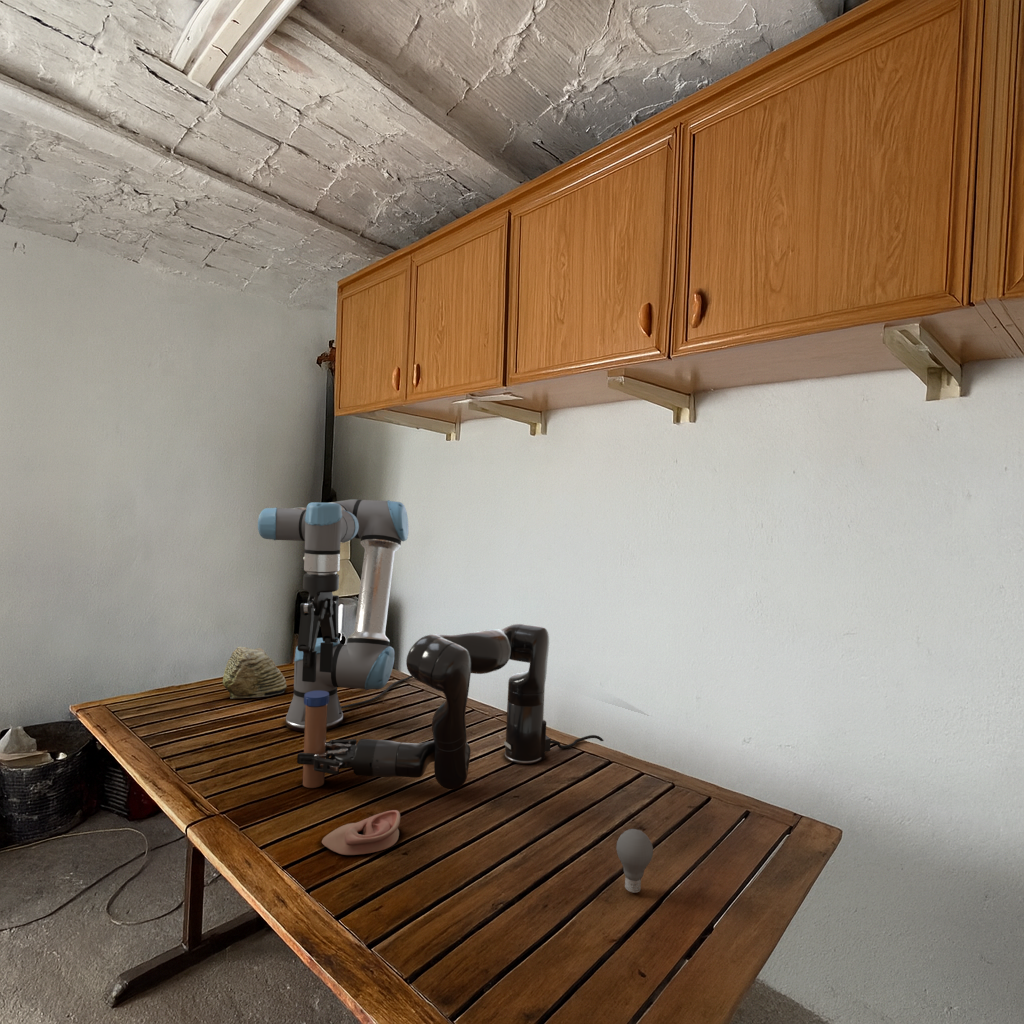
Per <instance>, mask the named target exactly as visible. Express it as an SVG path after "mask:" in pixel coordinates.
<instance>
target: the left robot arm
mask: <svg viewBox="0 0 1024 1024" xmlns="http://www.w3.org/2000/svg"><path fill="white" fill-rule="evenodd" d="M257 518H258V519H257V531H258V534H259V536H260V537H261V538H263V539H265V540H272V541H292V542H293V541H296V542H304V556H303V558H302V560H303V561H304V562H303V571H304V572H306V573H304V574H303V577H302V580H303V581H302V589H303V590H304V592H308V598H307V602H305V603H304V602H301V603H300V605H299V609H300V618H299V629H298V636H297V637H298V638H297V645H296V647H295V655H294V659H293V661H294V670H293V671H294V672H293V695H292V696H293V697H292V699H291V702H290V704H289V708H288V711H287V713H286V715H285V726H286V728H287V729H289V730H291V731H294V732H295V731H296V732H301V733H304V732H305V704H304V695H305V693H307V692H310V691H327V692H329V696H330V697H329V703H328V704H327V728H326V731H329V730H332V729H335V728H337V727H339V726H340V725H342V723H343V722H344V713H343V709H347V708H352V707H356V706H360V705H363V704H367V703H371V702H373V701H375V700H377V699H379V698H381V697H382V696H383V695H385V694H386V693H387V692H389V690H390V689H391V688H392V687H394V686H396V685H398V684H400V683H402V682H405V681H408V680H410V679H412V678H414V677H413V676H412V675H411V674H410V676H407V677H405V678H401V679H399V680H397V681H394V682H393V683H391V684H390V685H388V687H386V689H385V690H383V691H382V692H381V693H379V694H378V695H376V696H374V697H372V698H369V699H366V700H363V701H359V702H354V703H350V704H349V703H348V704H345V705H341V702H340V699H339V695H338V688H340V689H341V688H342V689H343V688H344V689H359V690H366V691H370V690H382V689H383V688H384V687H385V686H386V685H387V684H388V682H389V680H390V677H391V675H392V672H393V668H394V663H395V648H394V647H392V646H390V639H389V638H388V637H387V635H386V629H387V621H388V613H389V612H388V611H389V604H390V595H391V588H392V587H391V586H392V579H393V578H392V577H393V570H394V561H395V553H396V552H397V551H398V550H400V549H401V547H402V545H401V544H402V542H406V541H407V540H408V538H409V537H408V536H409V518H408V512H407V508H406V506H405V504H404V503H403V502H400V501H396V500H395V501H394V500H390V499H388V500H380V499H379V500H377V499H359V498H357V499H356V498H355V499H353V498H351V499H345V500H338V501H331V502H330V501H329V502H320V501H319V502H315V501H314V502H312V501H311V502H309V503H308V504H307V505H306V506H304V507H292V508H291V507H287V508H285V507H283V508H282V507H265V508H263V509H262V510H261V512H260V513H259V515H258V517H257ZM353 539H359V540H360V545H361V546H362V547H363V548H364V553H363V560H362V561H363V562H362V569H361V570H362V571H361V576H360V585H359V591H358V592H359V593H358V600H357V607H356V614H355V622H354V628H353V629H354V631H353V632H352V633H351V634H350V635H349V636H348V637H347V641H346V644H344V643H343V644H342V643H341V641H340V639H339V602H340V597H339V595H335V594H333V593H334V592H337V591H339V588H340V574H339V573H338V572H340V570H341V569H340V568H341V544H344V543H347V542H349V541H351V540H353ZM319 630H320V631H321V636H322V637H318V636H319Z"/></svg>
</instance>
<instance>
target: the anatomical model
mask: <svg viewBox="0 0 1024 1024" xmlns="http://www.w3.org/2000/svg"><path fill="white" fill-rule="evenodd" d="M400 823H401V813H400V811H399V810H397V809H392V810H391V809H390V810H387V811H383V812H380V813H377V814H373V815H371V816H369V817H367V818H365V819H362V820H360V821H356V822H349V823H346V824H344V825H341V826H339V827H337V828H335V829H334V830H332V831H331V832H329V833H328V834H326V835H325V836H324V837H323V838H322V840H321V844H322V845H323V846H324V847H325V848H327V849H328V850H330V851H332V852H334V853H337V854H339V855H342V856H356V855H357V856H358V855H366V854H371V853H378V852H382V851H383V850H386V849H388V848H390V847H392V846H394V845H395V844H396V843H397V842H398V840H399V836H400V830H399V827H400Z"/></svg>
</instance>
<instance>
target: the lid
mask: <svg viewBox="0 0 1024 1024" xmlns="http://www.w3.org/2000/svg"><path fill="white" fill-rule="evenodd" d="M329 697H330V696H329V692H327V691H310V692H307V693H305V695H304V704H305V705H307V706H312V707H318V706H324V705H326V704H328V703H329Z"/></svg>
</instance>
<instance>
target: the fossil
mask: <svg viewBox="0 0 1024 1024" xmlns="http://www.w3.org/2000/svg"><path fill="white" fill-rule="evenodd" d="M222 676H223V677H222V685H223V687H224V688H225V690H226V691H228V693H229V698H230V699H250V698H264V697H271V696H275V695H281V694H284V693H285V691H286V689H287V687H288V686H287V680H286V678H285V676H284V674H283V673H282V672H281V669H279V668H278V667H277V665H276V663H275V662H274V660H273V659H272V658H271V657H270V656H269V655H268V654H267V653H266V652H265V650H264V649H263V648H260V647H258V648H251V647H247V646H246V647H245V646H238V647H237V648H236V649H235V650H233V651H232V653H231V656H230V657H229V659H228V660H227V663H226V666H225V668H224V671H223V675H222Z"/></svg>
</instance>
